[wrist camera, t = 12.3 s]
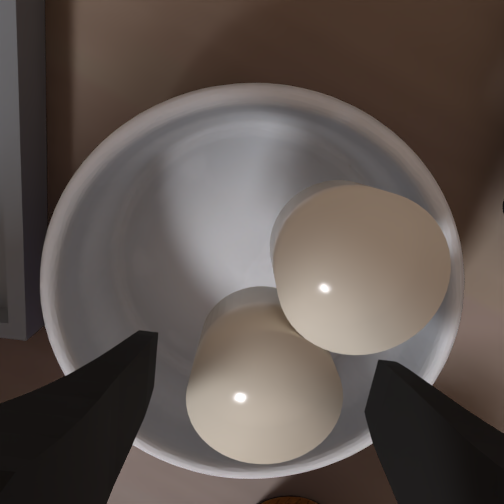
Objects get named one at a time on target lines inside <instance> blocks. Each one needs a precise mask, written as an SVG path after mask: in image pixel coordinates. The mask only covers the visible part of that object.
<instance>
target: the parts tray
mask: <svg viewBox="0 0 504 504" xmlns="http://www.w3.org/2000/svg"><path fill="white" fill-rule="evenodd" d="M47 229H48V228H47V146H46V64H45V0H0V338H7V339H16V340H24V341H27V340H28V339H29V338H30V337H31V336H32V335H34V334H35V333H36V332H37V331H38V330H39V329H41V328H42V327H43V326H44V325H45V323H44V318H43V313H42V306H41V297H40V268H41V258H42V252H43V246H44V242H45V237H46V233H47Z"/></svg>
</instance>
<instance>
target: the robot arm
mask: <svg viewBox="0 0 504 504" xmlns="http://www.w3.org/2000/svg"><path fill="white" fill-rule="evenodd" d="M157 344H158V332H151V331H142V330H139V331H137V332H136V333H134V334H132V335H131V336H130V337H128V338H127V339H125V340H124V341H122V342H121V343H119V344H118V345H116V346H115V347H113V348H112V349H110V350H109V351H107V352H106V353H104V354H102V355H101V356H99V357H98V358H96V359H94V360H93V361H91V362H89V363H87V364H86V365H84V366H82V367H81V368H79V369H77V370H75V371H74V372H72V373H70V374H68V375H66V376H64V377H62V378H60V379H58V380H56V381H54V382H52V383H50V384H48V385H46V386H43V387H41V388H39V389H37V390H35V391H32V392H30V393H27V394H25V395H22V396H19V397H17V398H14V399H12V400H9V401H6V402H4V403H1V404H0V504H107V501H108V499H109V496H110V494H111V491H112V489H113V486H114V484H115V482H116V479H117V477H118V475H119V473H120V471H121V469H122V466H123V464H124V462H125V460H126V458H127V455H128V453H129V451H130V449H131V447H132V444H133V442H134V440H135V438H136V436H137V433H138V431H139V429H140V427H141V424H142V422H143V420H144V418H145V415H146V412H147V409H148V406H149V402H150V399H151V396H152V393H153V389H154V382H155V369H156V357H157ZM364 413H365V417H366V421H367V425H368V429H369V432H370V435H371V439H372V442H373V445H374V447H375V450H376V452H377V455H378V457H379V459H380V462H381V464H382V467H383V469H384V471H385V474H386V476H387V479H388V481H389V483H390V486H391V488H392V490H393V493H394V495H395V498H396V500H397V502H398V504H504V433H502V432H500V431H499V430H497V429H495V428H494V427H492V426H490V425H489V424H487V423H486V422H484V421H483V420H481V419H480V418H478V417H477V416H475V415H474V414H472V413H470V412H469V411H467V410H466V409H464V408H463V407H462V406H460V405H459V404H457V403H456V402H454V401H453V400H451V399H450V398H449V397H447V396H446V395H444V394H443V393H442V392H440V391H439V390H437V389H436V388H435V387H433V386H432V385H431V384H429V383H428V382H426V381H425V380H424V379H422V378H421V377H419V376H418V375H417V374H415V373H414V372H412V371H411V370H409V369H408V368H406V367H405V366H403V365H402V364H400V363H398V362H396V361H388V360H379V359H378V363H377V366H376V370H375V374H374V377H373V381H372V385H371V388H370V392H369V396H368V400H367V403H366V407H365V411H364Z"/></svg>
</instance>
